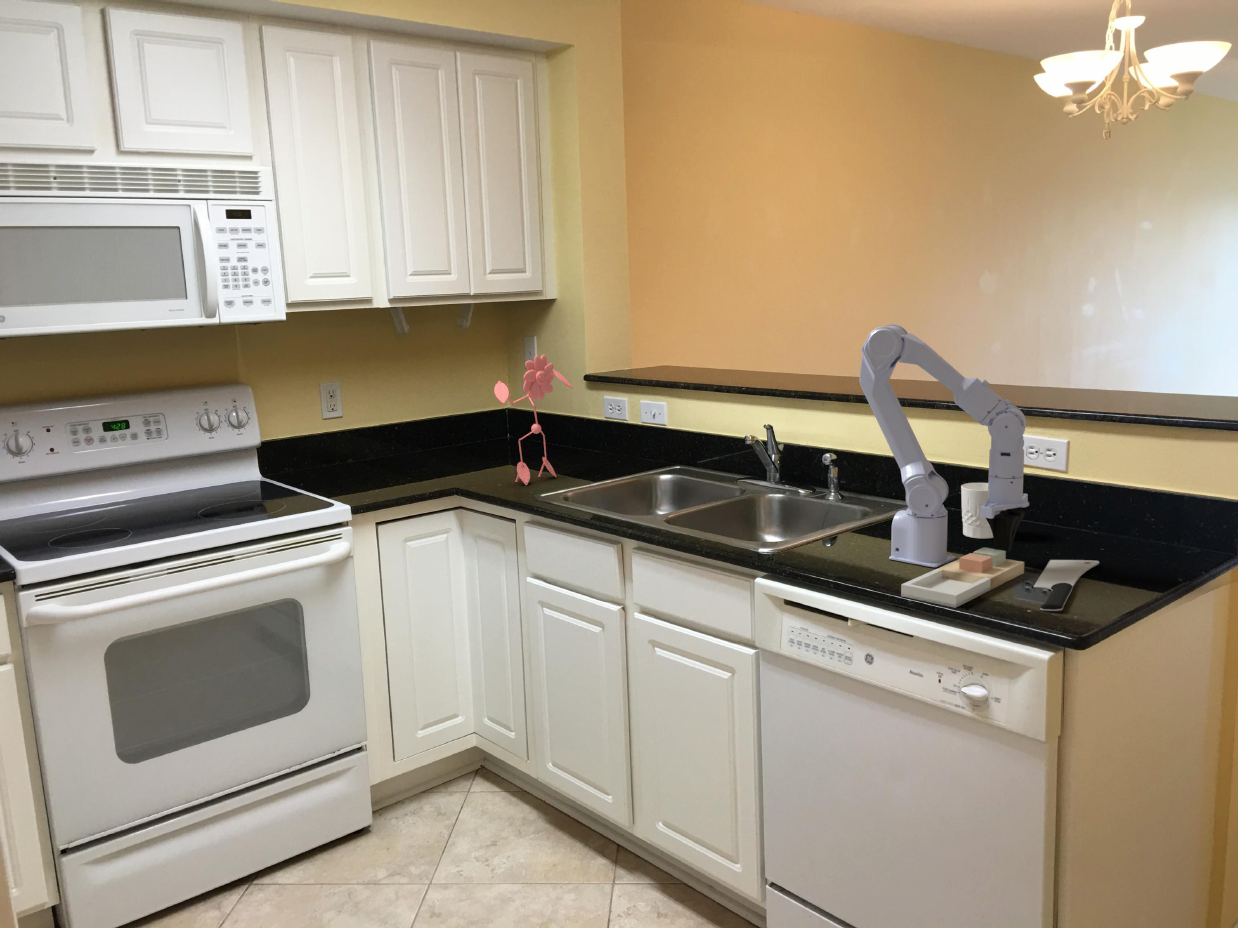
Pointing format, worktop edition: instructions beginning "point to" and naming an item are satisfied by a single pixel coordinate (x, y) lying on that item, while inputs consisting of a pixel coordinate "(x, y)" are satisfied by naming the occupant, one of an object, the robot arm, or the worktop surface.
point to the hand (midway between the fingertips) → (1003, 550)
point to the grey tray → (943, 589)
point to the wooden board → (984, 573)
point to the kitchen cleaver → (1061, 581)
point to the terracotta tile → (975, 563)
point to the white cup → (974, 510)
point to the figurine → (537, 385)
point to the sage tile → (993, 555)
